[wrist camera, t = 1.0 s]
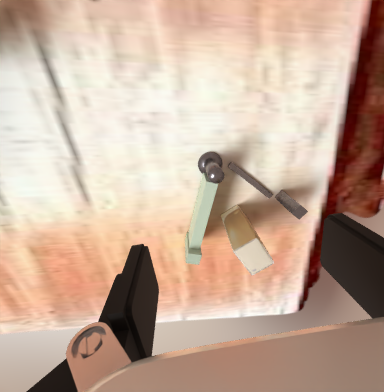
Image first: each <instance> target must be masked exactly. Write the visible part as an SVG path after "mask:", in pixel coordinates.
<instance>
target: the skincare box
mask: <svg viewBox="0 0 384 392" xmlns="http://www.w3.org/2000/svg"><path fill="white" fill-rule="evenodd" d="M221 218H222V221H223V224H224V226H225V229H226V232H227V235H228V238H229V241H230V244H231V246H232V249H233V252H234V253H235V255H236V256H237V257H238V259H239V260H240V261H241V262H242V264H243V265H244V266H245V267H246V269H247V270H248V271H249V272H250V274H251V275H254V274H255V273H257V272H259V271H261V270H263V269H265V268H267V267H268V266H270V265H272V264H274V261H273V260H272V258H271V256H270V255H269V253H268V251H267V250H266V248H265V246H264V245H263V243H262V241H261V240H260V238H259V236H258V235H257V233H256V231H255V230H254V228H253V226H252V225H251V223H250V221H249V220H248V218H247V217H246V215H245V214H244V212H243V211H242V210H241V208H240V207H239V206H238V205H236V206H235V207H233V208H231V209H229V210H228V211H226V212H225V213H223V214H222V215H221Z"/></svg>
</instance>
